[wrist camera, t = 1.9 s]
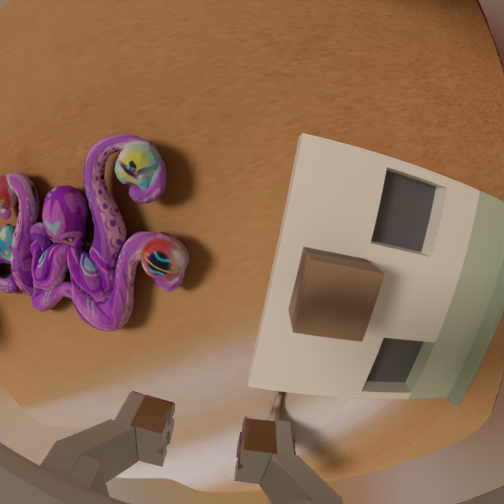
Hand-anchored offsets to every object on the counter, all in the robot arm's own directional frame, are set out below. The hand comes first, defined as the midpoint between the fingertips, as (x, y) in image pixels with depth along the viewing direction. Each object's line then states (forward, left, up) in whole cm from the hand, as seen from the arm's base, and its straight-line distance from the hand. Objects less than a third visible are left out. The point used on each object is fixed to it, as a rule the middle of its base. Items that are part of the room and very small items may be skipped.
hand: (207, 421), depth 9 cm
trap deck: (0, +17, -21) cm, 27 cm away
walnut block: (0, +8, -19) cm, 20 cm away
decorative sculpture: (+1, -19, -22) cm, 29 cm away
